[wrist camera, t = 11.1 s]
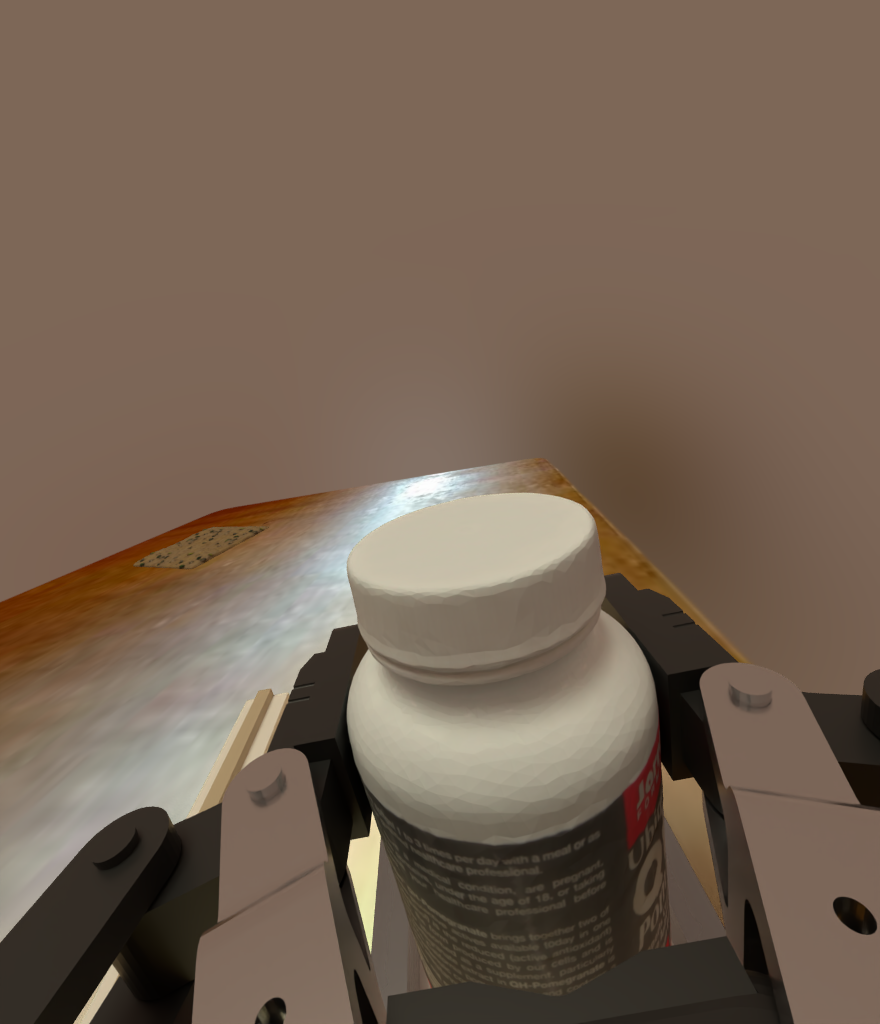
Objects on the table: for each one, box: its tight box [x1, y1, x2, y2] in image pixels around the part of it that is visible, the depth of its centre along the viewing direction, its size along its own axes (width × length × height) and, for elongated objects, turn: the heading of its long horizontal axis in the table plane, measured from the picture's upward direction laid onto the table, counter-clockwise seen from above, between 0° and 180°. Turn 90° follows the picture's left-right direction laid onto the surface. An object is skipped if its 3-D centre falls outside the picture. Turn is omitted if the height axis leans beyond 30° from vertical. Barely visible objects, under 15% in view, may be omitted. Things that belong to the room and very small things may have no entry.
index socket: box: [371, 817, 726, 1012], centre depth 11 cm, size 9×9×2 cm
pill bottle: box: [347, 493, 671, 996], centre depth 9 cm, size 5×5×10 cm
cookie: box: [133, 526, 269, 569], centre depth 57 cm, size 12×12×1 cm
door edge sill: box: [81, 689, 289, 1024], centre depth 12 cm, size 20×2×3 cm, turn 3°
